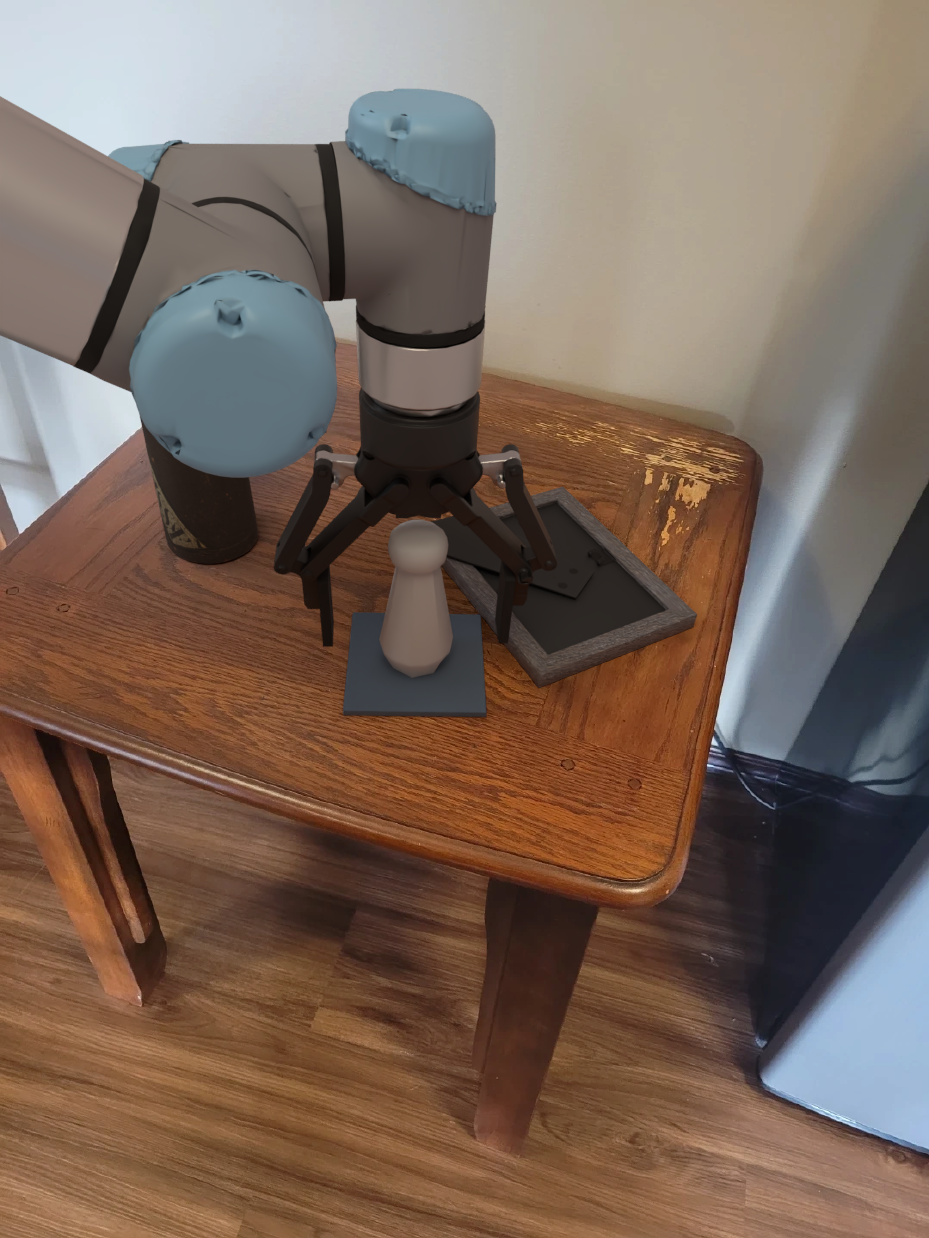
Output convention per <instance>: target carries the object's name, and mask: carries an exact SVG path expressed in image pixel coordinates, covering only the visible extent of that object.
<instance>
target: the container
mask: <svg viewBox="0 0 929 1238" xmlns="http://www.w3.org/2000/svg"><path fill="white" fill-rule="evenodd" d="M138 414H139V413H138ZM138 416H139V419H140V425H141V429H142V434H143V438H144V443H145V448H146V453H147V458H148V461H149V466H150V470H151V475H152V480H153V484H154V491H155V494H156V499H157V504H158V507H159V512H160V516H161V521H162V526H163V530H164V531H163V532H164V535H165V539H166V544H167V546H168V547H169V549H170V550H171V551H172V552H173V553H174V554H175V555H176V556H178V557H179V558H181V559H183V560H185V561H188V562H192V563H196V564H204V565H211V564H212V565H215V564H222V563H226V562H230V561H233V560H235V559H238V558H240V557H241V556H243V555H245V554H246V553H248V552H249V551H250V550H251V549H253V547H254V546H255V544H256V542H257V541H258V537H259V530H258V529H259V528H258V521H257V514H256V509H255V504H254V499H253V493H252V492H253V491H252V487H251V481H250V477H245V478H235V477H223V476H217V475H213V474H209V473H205V472H203V471H200V470H197V469H194V468H192V467H190V466H188V465H186V464H184V463H182V462H181V461H179V460H178V459H176V458H175V457H173V455H172V453H170V452H169V451H168V450H166V449H165V448H164V447H163V446H162V445H161V444H160V443H159V442H158V441H157V440H156V439H155V437H154V436H153V435H152V434H151V433H150V432H149V430H148V429H147V428H146V426H145V425H144V423H143V421H142V419H141V417H140V414H139V415H138Z"/></svg>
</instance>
